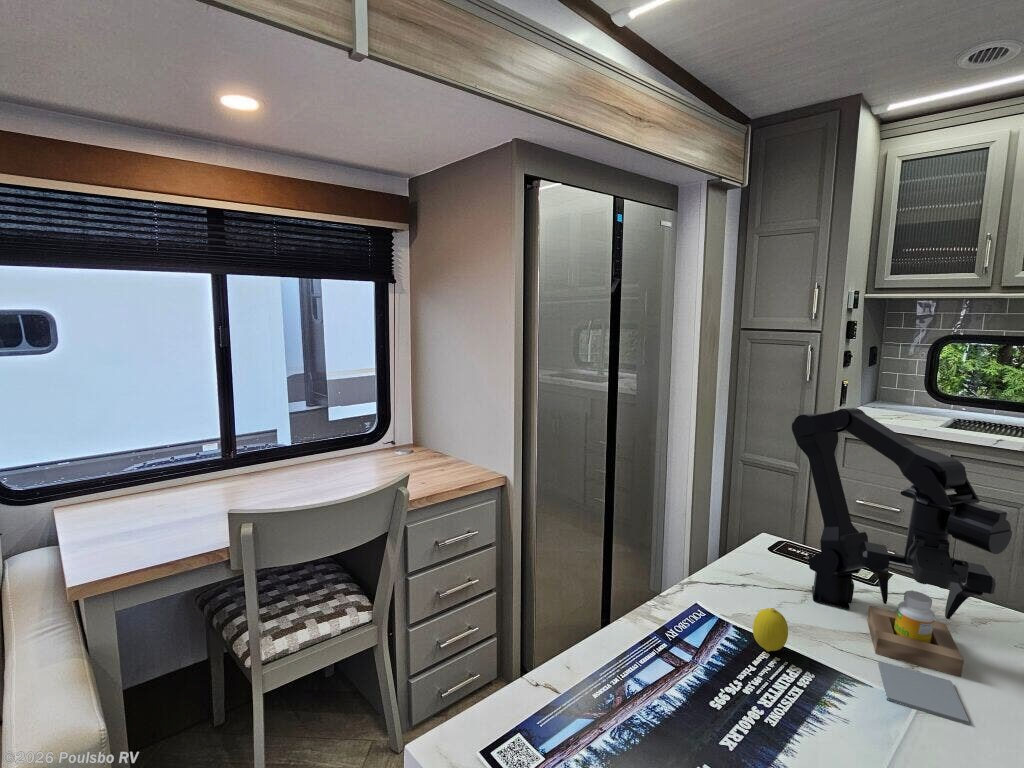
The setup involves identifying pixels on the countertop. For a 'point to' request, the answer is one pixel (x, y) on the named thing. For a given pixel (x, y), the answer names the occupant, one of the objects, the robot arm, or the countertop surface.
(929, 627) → the supplement bottle
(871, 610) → the walnut open tray
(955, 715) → the grey rubber mat
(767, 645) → the lemon
